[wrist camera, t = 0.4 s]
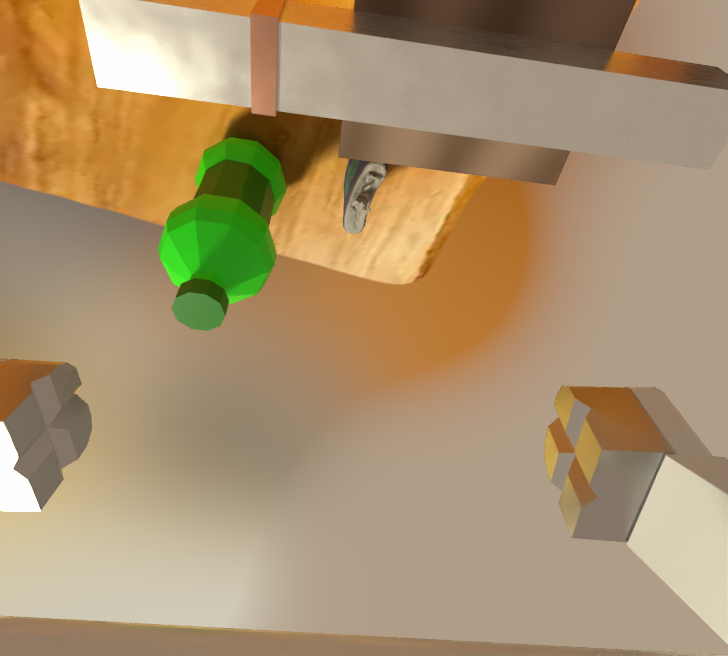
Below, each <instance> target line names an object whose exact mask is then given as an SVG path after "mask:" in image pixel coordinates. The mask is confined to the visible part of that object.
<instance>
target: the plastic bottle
mask: <svg viewBox="0 0 728 656" xmlns="http://www.w3.org/2000/svg"><path fill="white" fill-rule="evenodd" d="M195 180H196V183H197V186H198V190H197V192H196V195H195V197H194V199H193V200H191V201H189V202H187V203H184V204H182V205H180V206H178V207H177V208H176V209H174V210H173V211H172V212H171V213H170V215H169V217H168V219H167V221H166V225H165V228H164V231H163V235H162V237H161V241H160V244H159V247H158V250H159V257H160V259H161V261H162V263H163V265H164V267H165V269H166V271H167V272H168V275H169V276H170V278H171V280H172V283H174V284H175V285H177V286H178V287H180V288H179V291H178V293H177V296H176V298H175V301H174V304H173V306H172V310H173V312H174V314H175V316H176V318H177V320H178V321H180V322H181V323H183V324H185V325H186V326H188V327H190V328H191V329H199V330H207V331H208V330H210V329H213V328H216V327H218V326H220V325H221V323H222V321H223V319H224V317H225V315H226V311H227V307H228V304H232V303H235V302H237V301H240V300H242V299H245V298H247V297H250V296H252V295H255V294H257V293H258V292H259V291H260V290H261V289H262V287H263V286H264V284H265V282H266V280H267V278H268V276H269V274H270V272H271V270H272V268H273V266H274V265H275V260H276V251H275V246H274V243H273V240H272V236H271V233H270V230H269V224H270V219H271V216H273V215H274V214H275V213H276V211H277V209H278V207H279V205H280V203H281V201H282V199H283V197H284V195H285V193H286V188H287V186H286V183H285V179H284V175H283V171H282V168H281V164H280V161H279V160H278V159H277V158H276V157H275V156H274V155H273V154H272V153H271V152H269V151H268V150H267V149H266V148H265V147H264V146H263V145H261V144H260V143H259V142H258V141H252V140H246V139H241V138H235V137H230V138H227V139H225V140H223V141H221V142H219V143H217V144H216V145H214V146H212V147H210V148H208V149H206V150H205V151H204V154H203V156H202V159H201V162H200V165H199V168H198V171H197V174H196V177H195Z"/></svg>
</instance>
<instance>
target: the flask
mask: <svg viewBox="0 0 728 656" xmlns="http://www.w3.org/2000/svg"><path fill="white" fill-rule="evenodd" d="M386 175H387V164H386V163H378V162H371V161H363V160H355V159H349V162H348V166H347V170H346V174H345V181H344V214H343V227H344V229H345V230H346V231H347V232H349V233H351V234H353V233H358V232H361V231H362V230H363V228H364V226H365V222H366V216H367V213H368V212H369V211H370V210H371V209H370V208H369V206H370V204H371V201H372V199H373V197H374V194H375V192H376V190H377V189H378V187H379V186H380V184H381V183H382V182H383V181H384V178H385V177H386Z"/></svg>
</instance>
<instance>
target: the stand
mask: <svg viewBox="0 0 728 656" xmlns="http://www.w3.org/2000/svg"><path fill="white" fill-rule="evenodd" d="M635 2H636V0H355V4H354V10H357V11H364V12H370V13H376V14H383V15H389V16H396V17H402V18H408V19H415V20H421V21H427V22H434V23H440V24H447V25H453V26H459V27H466V28H472V29H479V30H485V31H491V32H498V33H504V34H510V35H517V36H523V37H530V38H536V39H542V40H549V41H555V42H561V43H568V44H574V45H581V46H587V47H593V48H600V49H606V50H612V51H614V50H615V48H616V45H617V43H618V41H619V38H620V36H621V34H622V32H623V29H624V27H625V25H626V22H627V20H628V18H629V16H630V13H631V11H632V9H633V7H634V4H635ZM569 152H570V151H568V150H561V149H553V148H546V147H538V146H531V145H524V144H516V143H509V142H502V141H494V140H487V139H479V138H472V137H465V136H457V135H450V134H443V133H435V132H428V131H421V130H413V129H406V128H398V127H391V126H384V125H376V124H369V123H362V122H354V121H347V120H342V124H341V133H340V143H339V156H338V157H340V158H347V159H355V160H363V161H371V162H378V163H386V164H394V165H402V166H410V167H417V168H425V169H433V170H441V171H448V172H456V173H464V174H472V175H480V176H487V177H495V178H504V179H511V180H519V181H527V182H534V183H542V184H550V185H556V182H557V180H558V178H559V175H560V173H561V171H562V169H563V166H564V164H565V162H566V160H567V157H568V155H569Z"/></svg>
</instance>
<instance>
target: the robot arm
mask: <svg viewBox="0 0 728 656" xmlns="http://www.w3.org/2000/svg"><path fill="white" fill-rule="evenodd" d="M80 386H81V381H80V378H79V375H78V372H77V369H76V367H74V366H72V365H71V364H69V363H63V362H49V361H34V360H19V359H2V358H0V510H11V511H41V510H42V508H43V507H44V506H45V504H46V503H47V501H48V500H49V499H50V497H51V496H52V494H53V493H54V492H55V490H56V489H57V488H58V486H59V485H60V483H61V482H62V481H63V479H64V478H63V473H62V468H63V467H65V466H67V465H68V464H70V463H72V462H74V461H75V460H77V459H78V458H79V457H80V456H81V454H82V453H83V451H84V450H85V448H86V446H87V444H88V441H89V437H90V434H91V430H92V422H91V421H92V420H91V413H90V410H89V406H88V404H87V403H85V402H84V401H83V400H82V399H81V398H80V397H79V396H78V395H77V394H76V393H77V391H78V389H79V388H80ZM554 407H555V409H556V411H557V414H558V416H559V418H557V419H556V420H555V421H554V422H553V423H552V424H550V425H549V426H548V429H547V434H546V438H545V455H544V457H545V463H546V469H547V472H548V474H549V478H550V481H551V482H552V483H553V484H554V485H555V486H556V487H558V488H559V489H560V490H561V491H562V494H561V497H560V500H559V506H560V509H561V511H562V514H563V517H564V519H565V522H566V525H567V527H568V530H569V532H570V535H571V538H580V539H592V540H605V541H618V542H628V543H627V546H629V547H630V548H631V549H632V550H633V551H634V552H635V553H636V554H637V555H638V556H639V557H640V558H641V559H642V560H643V561H644V562H645V563H646V564H647V565H648V566H649V567H650V568H651V569H652V570H653V571H654V572H655V573H656V574H657V575H658V576H659V577H660V578H661V579H662V580H663V581H664V582H665V583H666V584H667V585H668V586H669V587H670V588H671V589H672V590H673V591H674V592H675V593H676V594H677V595H678V596H679V597H680V598H681V599H682V600H683V601H684V602H685V603H686V604H688V606H689V607H691V609H692V610H694V611H695V612H696V613H697V614H698V615H699V616H700V617H701V618H702V619H703V620H704V621H705V622H706V623H707V624H708V625H709V626H710V627H711V628H712V629H713V630H714V631H715V632H716V633H717V634H718V635H719V636H720V637H721V638H722V639H723V640H724V641H725V642H726V643H727V644H728V459H726V458H725V457H715V456H712V454H711V453H710V452H709V450H708V449H707V448H706V447H705V445H704V444H703V443H702V441H701V440H700V439H699V437H698V436H697V435H696V433H695V432H694V431H693V430H692V428H691V427H690V426H689V424H688V423H687V422H686V421H685V419H684V418H683V417H682V415H681V414H680V413H679V411H677V409H676V408H675V407H674V405H673V404H672V402H671V401H670V400H669V399H668V397H667V396H666V395H665V393H664V392H663V391H661V390H659V389H658V388H656V387H624V388H619V387H590V386H561V388H560V390H559V391H558V393H557V396H556V400H555V403H554ZM0 656H728V655H713V654H695V653H676V652H657V651H639V650H622V649H604V648H584V647H567V646H548V645H528V644H510V643H492V642H473V641H454V640H435V639H416V638H397V637H378V636H359V635H341V634H322V633H304V632H286V631H268V630H250V629H232V628H230V629H229V628H213V627H193V626H177V625H159V624H140V623H123V622H105V621H87V620H86V621H85V620H68V619H67V620H66V619H50V618H30V617H13V616H0Z"/></svg>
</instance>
